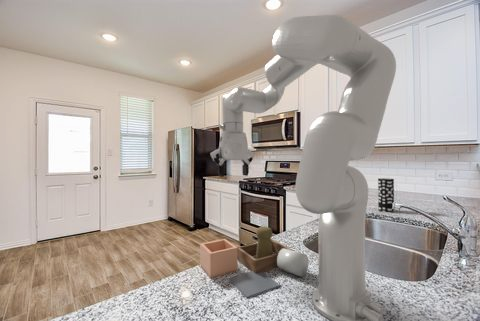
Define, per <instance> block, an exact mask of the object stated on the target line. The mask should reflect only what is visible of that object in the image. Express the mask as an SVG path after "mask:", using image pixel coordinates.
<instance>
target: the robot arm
mask: <svg viewBox="0 0 480 321" xmlns="http://www.w3.org/2000/svg"><path fill="white" fill-rule="evenodd" d="M271 45H272V50H273V52H274V54H276V55H275V56H273V57H272V59H270V60H269V61H268V62H267V63H266V64H265V67H264V74H265V77H266V80H267V82H268V84H269V86H267V87H266V88H265V89H264V90H262V91H259V90H255V89H251V88H248V87H247V88H246V87H241V86H238V87H235V88H234V89H232V91H230V93H226V94H224V95H223V96H222V101H221V102H222V103H221V105H222V108H221V111H222V123H221V125H220V124H219V125H218V129H219V130H221V131H222V132H220V138H219V144H218V145H219V146H218V148H217V149H215V150H213V151H212V152H210V153H209V154H210V157H211V159H212V161H213V163H215V164H216V165H217V175H218V177H220V178H223V177H225V167H224V165H223V164H224V163H225V161H228V160H229V161H238V160H239V161H241V162H242V163H243V164H242V167H241V168H242V176H245V177H248V176H249V173H250V172H249V171H250V170H249V165H251V163H252V161H253V159H254V156H255V152H253V151H251V150H250V149H249V145H248V138H247V133H246V132H244V113H245V112H246V113H253V114H264V113H265V112H267V111H269V110H270V109H272V108H274V107H275V106H276V105H278V103H279V102H280V101H281V99H282V97H283V96H284V93H285V90H286V88H287V86H289V85H290V84H292V83H293V82H295V81H296V80H297V79H299V78H300V77H301V76H303V75H304V74H306V73H307V72H308V71H310V70H311V69H312V68H314V67H315V66H317V65H321V66H325V67H327V68H329V69H331V70H333V71H336V72H338V73H341V74H343V75H347V76H348V77H349V78H350V80H349V81H348V82H347V84H346V86H345V87H344V88H343V91H342V94H341V98H340V103H339V106H338V110H336V111H335V110H334V111H333V110H332V111H328V112H324V113H323V114H320V115H319V116H318V117H316V119H315V120H313V122H312V123H311V124H310V126H309V128H308V130H307V132H306V135H305V138H304V141H303V146H302V147H303V148H302V150H301V151H302V152H301V155H300V161H299V163H298V164H299V165H298V169H297V173H296V179H295V195H296V198H297V201H298V203H299V204H300V206H301V207H302V208H303V209H304V210H305V211H307V212H309V213H311V214H315V215H316V214H317V215H319V218H318V225H317V226H318V228H317V230H318V233H317V235H318V237H317V239H318V242H317V243H318V244H317V245H318V246H317V247H318V250H317V251H318V287H317V288H316V289H315V290H313V292H312V293H311V303H312V304H313V305H312V306H313V307H314V308H315V310H317V312H318V313H320V315H322V316H323V317H325V318H326V319H329V320H331V321H384V315H383V314H384V312H385V311H384V308H382V307H380V306H378V305H376V304H374V303H373V302H372V300H371V297H372V295H371V292H368V291H366V245H365V244H366V214H367V207H368V199H369V186H368V184H369V183H368V181H367V179H366V177H365V176H364V174H363V173H362V172H361V171H360V170H359V169H357V168H356V167H353V166H351V165H349V163H350V162H351V161H352V162H353V161H359V160H363V159H365V158H367V157H368V156H370V155H371V154H372V153H373V151H374V150H375V147H376V144H377V141H378V136H379V133H380V130H381V126H382V124H383V123H382V122H383V119H384V115H385V112H386V108H387V104H388V100H389V98H390V97H389V96H390V93H391V89H392V86H393V83H394V80H395V76H396V71H397V61H396V57H395V55H394V53H393V51H392V50H391V49H390V47H388V46H387V45H386V44H384V43H382V42H381V41H379V40H378V39H376V38H374V37H373V36H371V35H370V34H368V33H367V31H365V30H363V29H362V28H360V27H359V26H358V25H356V24H355V23H354V22H353V21H352V20H350V19H348V18H347V17H344V16H341V15H338V14H337V15H336V14H323V15H322V14H320V15H319V14H318V15H306V16H305V15H303V16H295V17H291V18H289V19H287V20H285V21H283V22H282V23H281V24H280V25H279V26H278V27H277V28H276V30H275V32H274V34H273V38H272V43H271ZM217 155H218V157H219V158H217Z"/></svg>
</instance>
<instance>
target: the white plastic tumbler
mask: <svg viewBox="0 0 480 321" xmlns="http://www.w3.org/2000/svg"><path fill="white" fill-rule="evenodd" d="M292 250H293V249H292ZM292 250H288V249H285V248H283V249H281V250H280V252H279V254H278V257H277V266H278V268H277V269H279V270H282V271H284V272H287V273H290V274H292V275H296V276H298V277H301V278H303V277H305V276H306V274H307V272H308V268H309V257H308V255H307V254H305V253H301V252H299V251H295V250H294V251H292Z"/></svg>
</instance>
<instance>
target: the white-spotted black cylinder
mask: <svg viewBox="0 0 480 321" xmlns="http://www.w3.org/2000/svg"><path fill="white" fill-rule="evenodd" d="M377 195H378V196H377V198H378V199H377V200H378V201H377V202H378V203H377V204H378V205H377V206H378V207H377V208H378V209H377V210H378V211H379V212H383V213H394V212H395V208H394V209H392V203H393V202H394V203H395V179H394V178H387V177H385V178H381V177H380V178H377Z"/></svg>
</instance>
